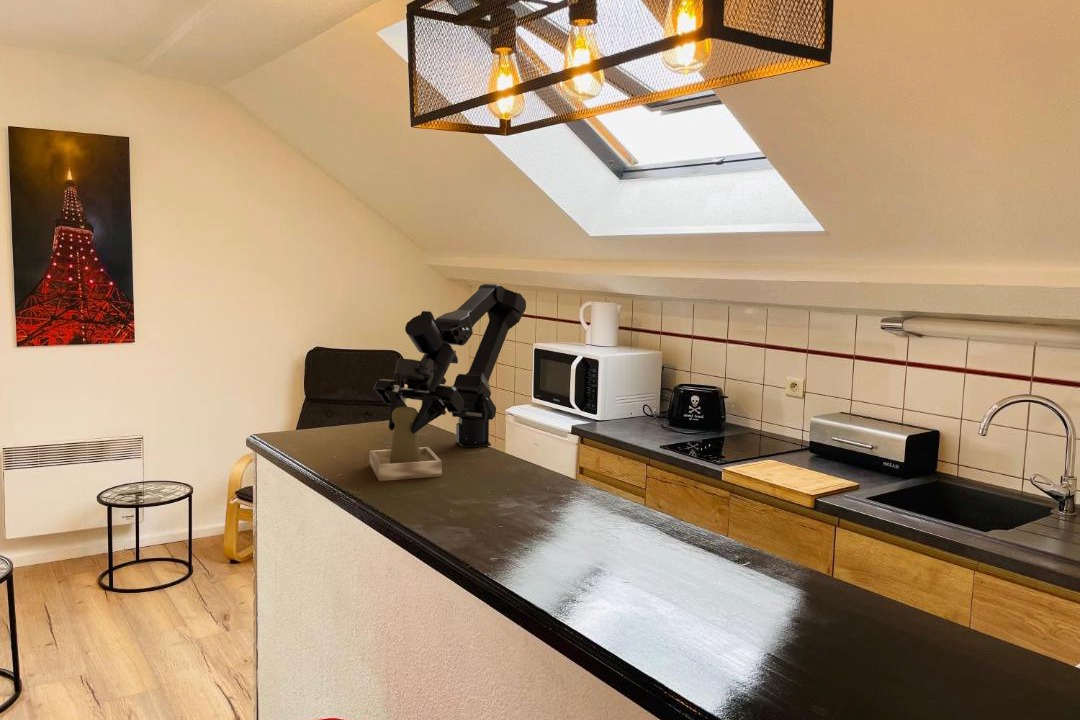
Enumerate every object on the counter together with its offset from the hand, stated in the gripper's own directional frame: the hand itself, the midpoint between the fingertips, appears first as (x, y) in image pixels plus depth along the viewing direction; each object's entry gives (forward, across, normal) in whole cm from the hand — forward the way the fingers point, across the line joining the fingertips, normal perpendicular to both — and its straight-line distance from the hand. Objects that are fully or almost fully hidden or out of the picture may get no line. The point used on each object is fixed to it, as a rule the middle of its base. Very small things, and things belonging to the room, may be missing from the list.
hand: (401, 430), depth 164 cm
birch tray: (+5, 0, +7) cm, 8 cm away
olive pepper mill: (+4, 0, +6) cm, 7 cm away
